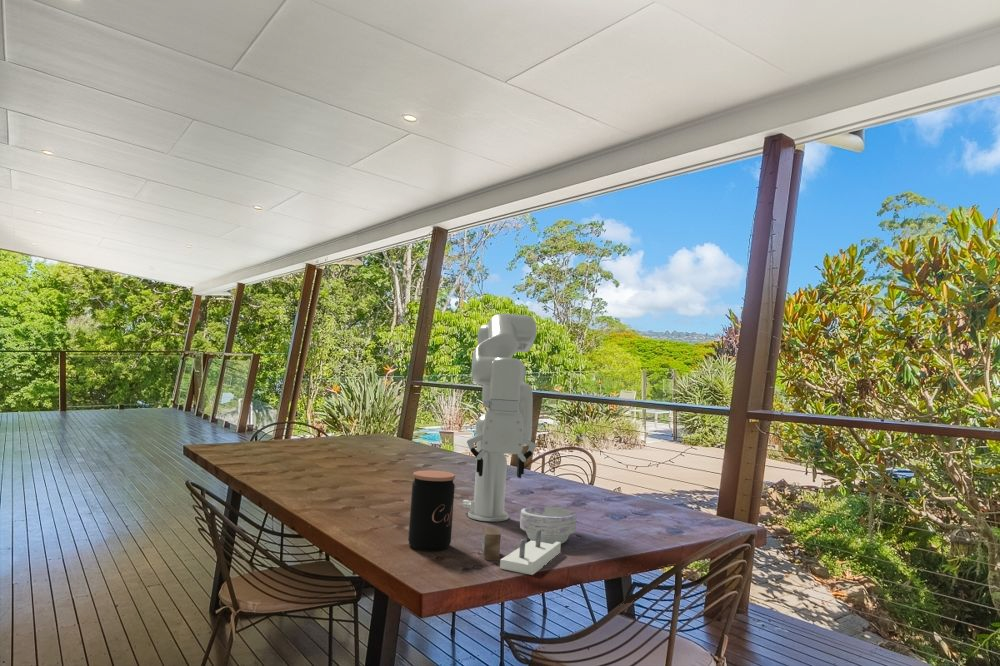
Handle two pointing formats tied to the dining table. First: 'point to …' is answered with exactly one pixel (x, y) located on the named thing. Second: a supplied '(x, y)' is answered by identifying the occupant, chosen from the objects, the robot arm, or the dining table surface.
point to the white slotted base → (530, 556)
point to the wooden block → (491, 543)
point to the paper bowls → (548, 523)
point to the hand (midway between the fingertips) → (499, 476)
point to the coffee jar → (431, 510)
